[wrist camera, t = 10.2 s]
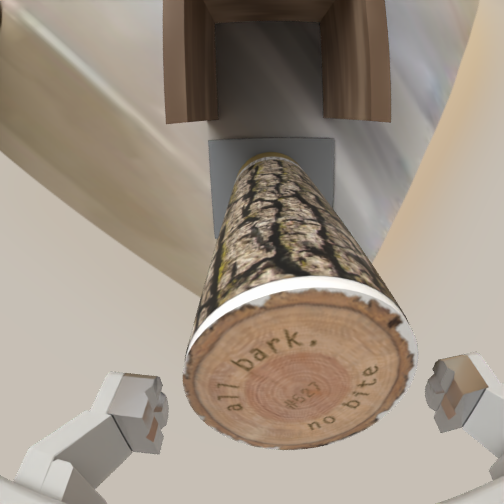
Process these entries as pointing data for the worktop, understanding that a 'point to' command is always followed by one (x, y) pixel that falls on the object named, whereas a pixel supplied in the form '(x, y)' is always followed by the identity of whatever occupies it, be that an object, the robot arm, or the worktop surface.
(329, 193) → the grey mat
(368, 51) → the brown wooden holder
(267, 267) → the bark log cylinder
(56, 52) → the worktop surface
